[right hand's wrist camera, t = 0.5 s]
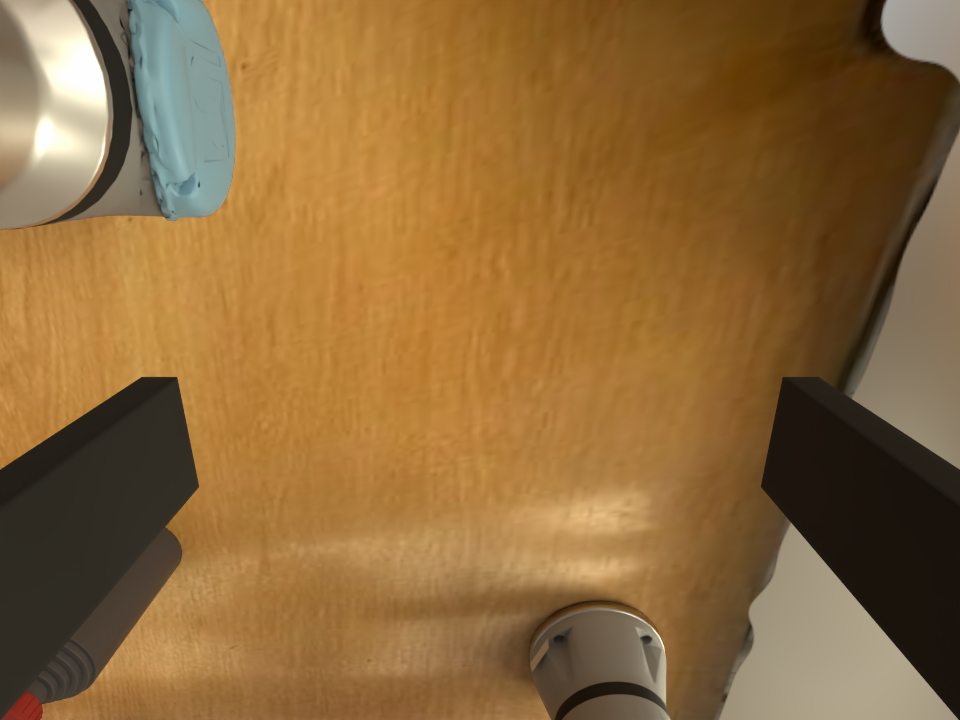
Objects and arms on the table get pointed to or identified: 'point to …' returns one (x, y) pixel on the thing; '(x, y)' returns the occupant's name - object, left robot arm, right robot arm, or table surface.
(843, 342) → the table surface
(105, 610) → the bottle
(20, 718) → the cap
